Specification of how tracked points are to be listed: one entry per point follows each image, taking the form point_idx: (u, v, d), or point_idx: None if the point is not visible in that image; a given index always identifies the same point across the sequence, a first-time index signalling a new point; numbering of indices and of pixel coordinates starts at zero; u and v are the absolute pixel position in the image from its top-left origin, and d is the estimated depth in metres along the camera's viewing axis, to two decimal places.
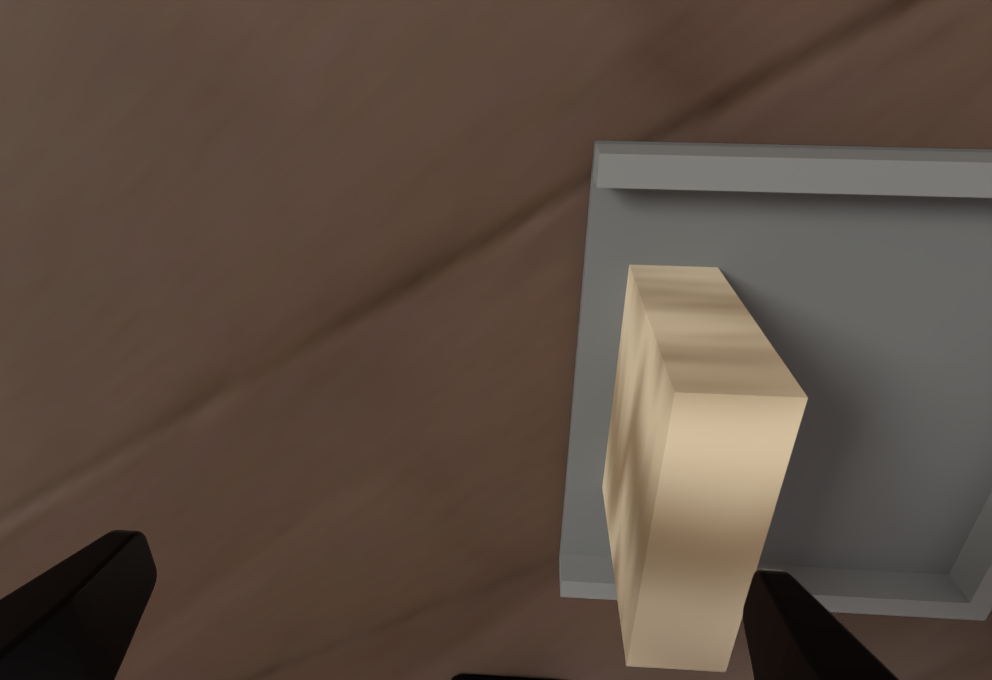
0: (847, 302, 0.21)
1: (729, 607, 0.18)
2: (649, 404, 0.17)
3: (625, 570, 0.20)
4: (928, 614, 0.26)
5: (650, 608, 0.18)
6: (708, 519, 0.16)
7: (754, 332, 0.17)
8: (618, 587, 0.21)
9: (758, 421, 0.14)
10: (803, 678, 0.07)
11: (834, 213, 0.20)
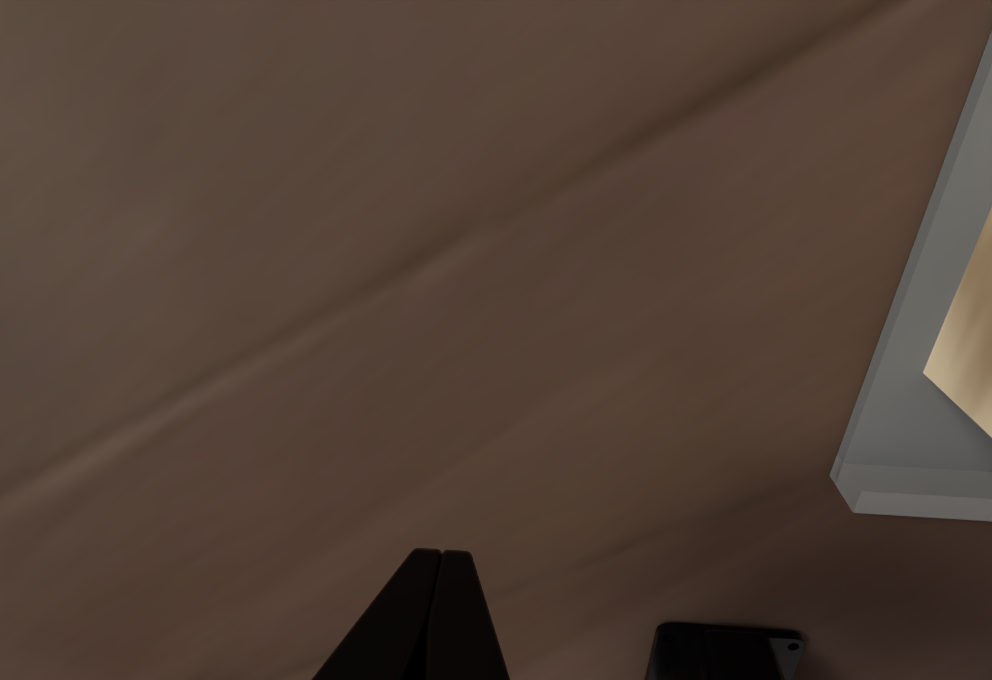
0: None
1: None
2: None
3: None
4: None
5: None
6: None
7: None
8: None
9: None
10: None
11: None
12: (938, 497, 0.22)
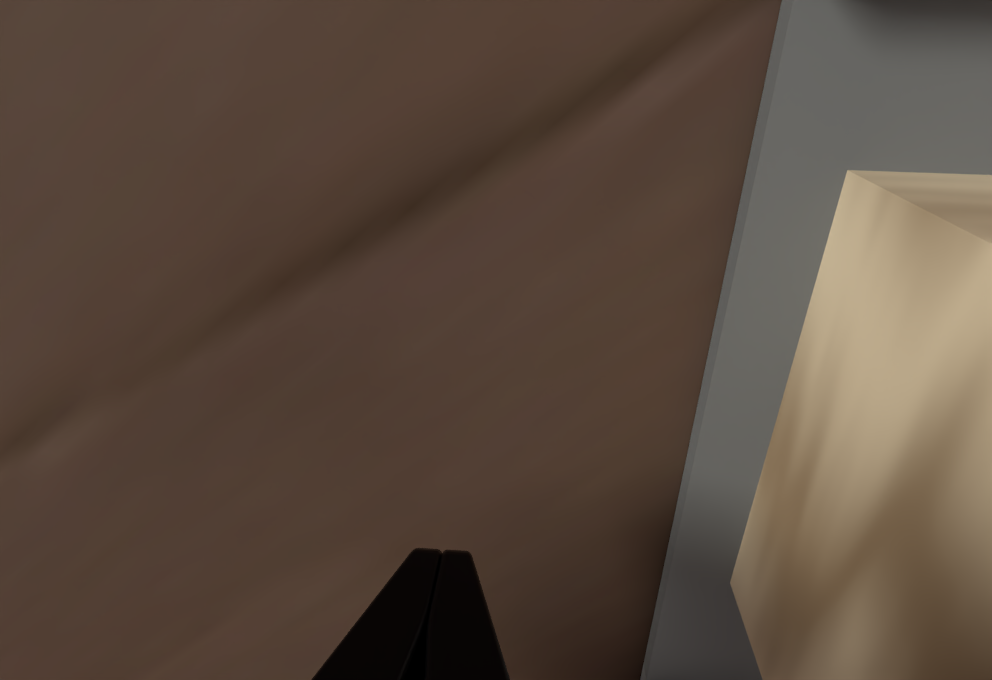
0: None
1: None
2: None
3: None
4: None
5: None
6: None
7: None
8: None
9: None
10: None
11: None
12: None
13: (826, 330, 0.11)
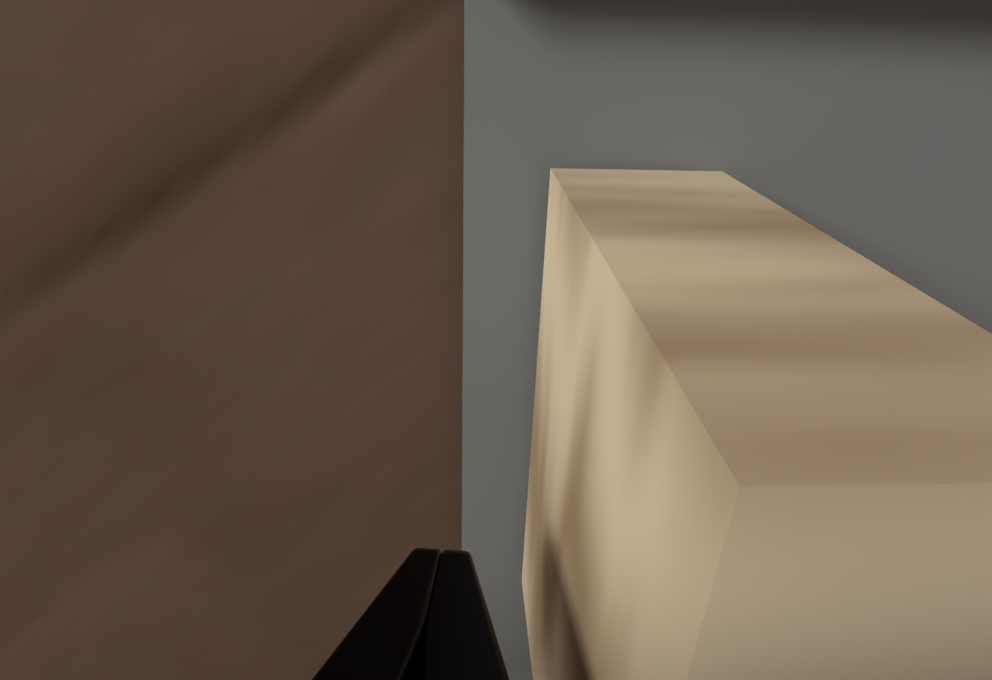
0: (971, 245, 0.11)
1: None
2: (614, 480, 0.06)
3: None
4: None
5: None
6: None
7: (874, 276, 0.06)
8: None
9: None
10: None
11: (966, 52, 0.10)
12: None
13: (546, 327, 0.11)
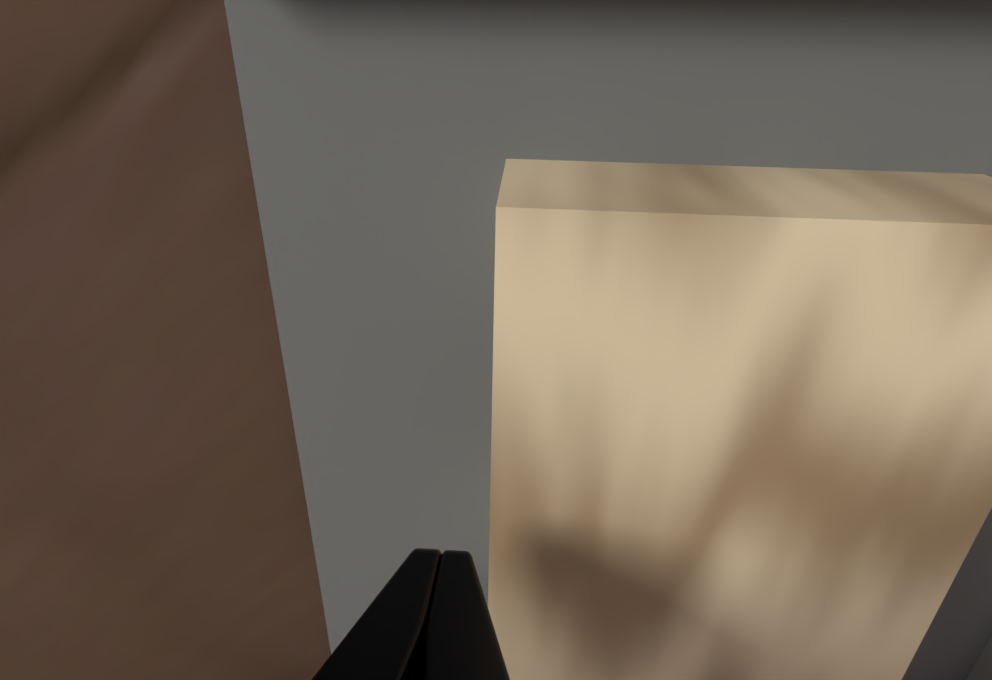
0: None
1: None
2: (909, 349, 0.09)
3: (809, 642, 0.12)
4: None
5: None
6: None
7: (792, 171, 0.10)
8: None
9: None
10: None
11: (723, 35, 0.10)
12: None
13: (550, 380, 0.09)
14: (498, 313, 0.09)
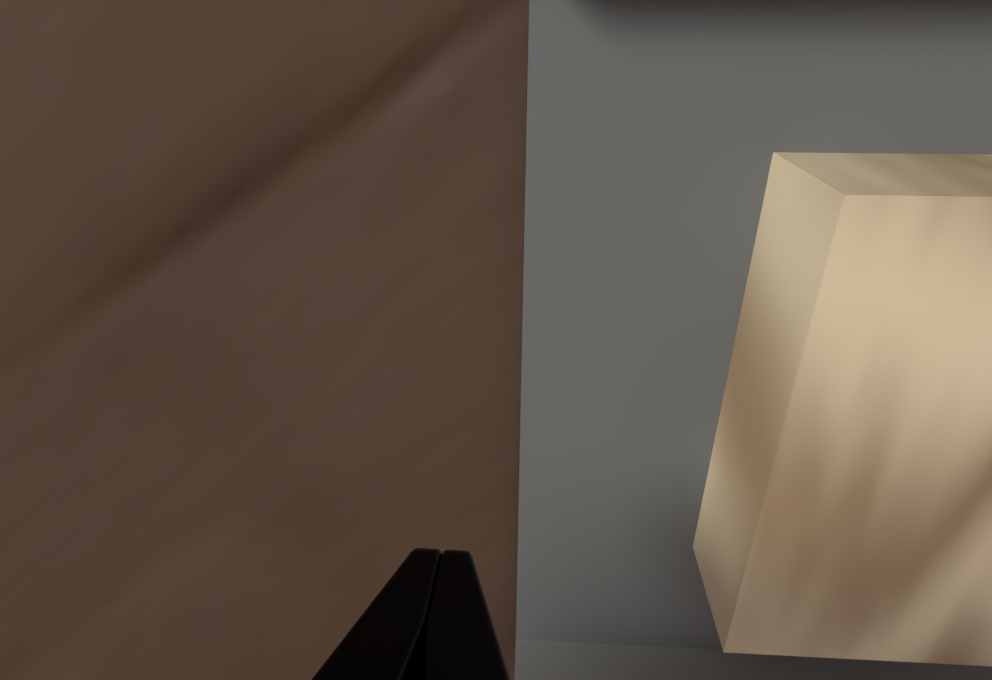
0: None
1: None
2: None
3: None
4: None
5: None
6: None
7: None
8: None
9: None
10: None
11: None
12: None
13: (857, 357, 0.10)
14: (821, 294, 0.09)
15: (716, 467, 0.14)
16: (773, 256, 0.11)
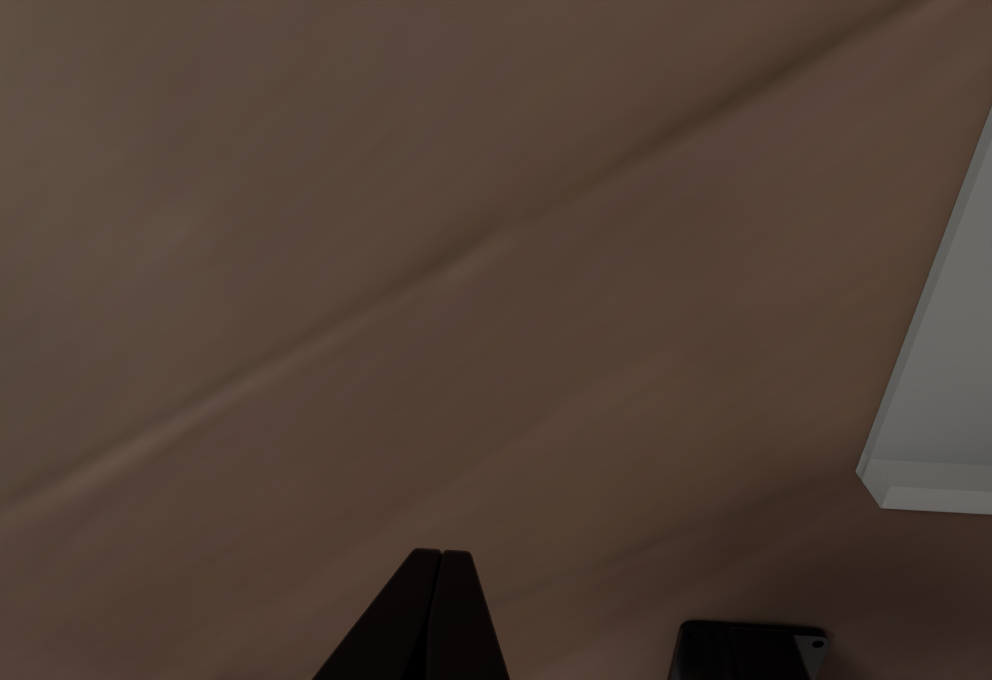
0: None
1: None
2: None
3: None
4: None
5: None
6: None
7: None
8: None
9: None
10: None
11: None
12: (967, 492, 0.22)
13: None
14: None
15: None
16: None
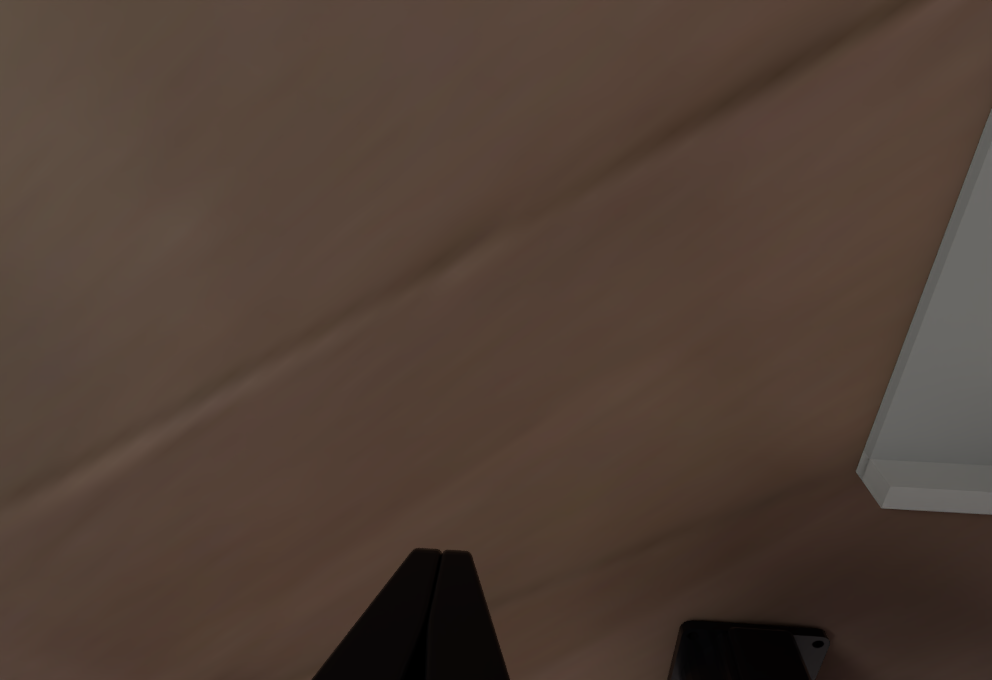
0: None
1: None
2: None
3: None
4: None
5: None
6: None
7: None
8: None
9: None
10: None
11: None
12: (967, 492, 0.22)
13: None
14: None
15: None
16: None
